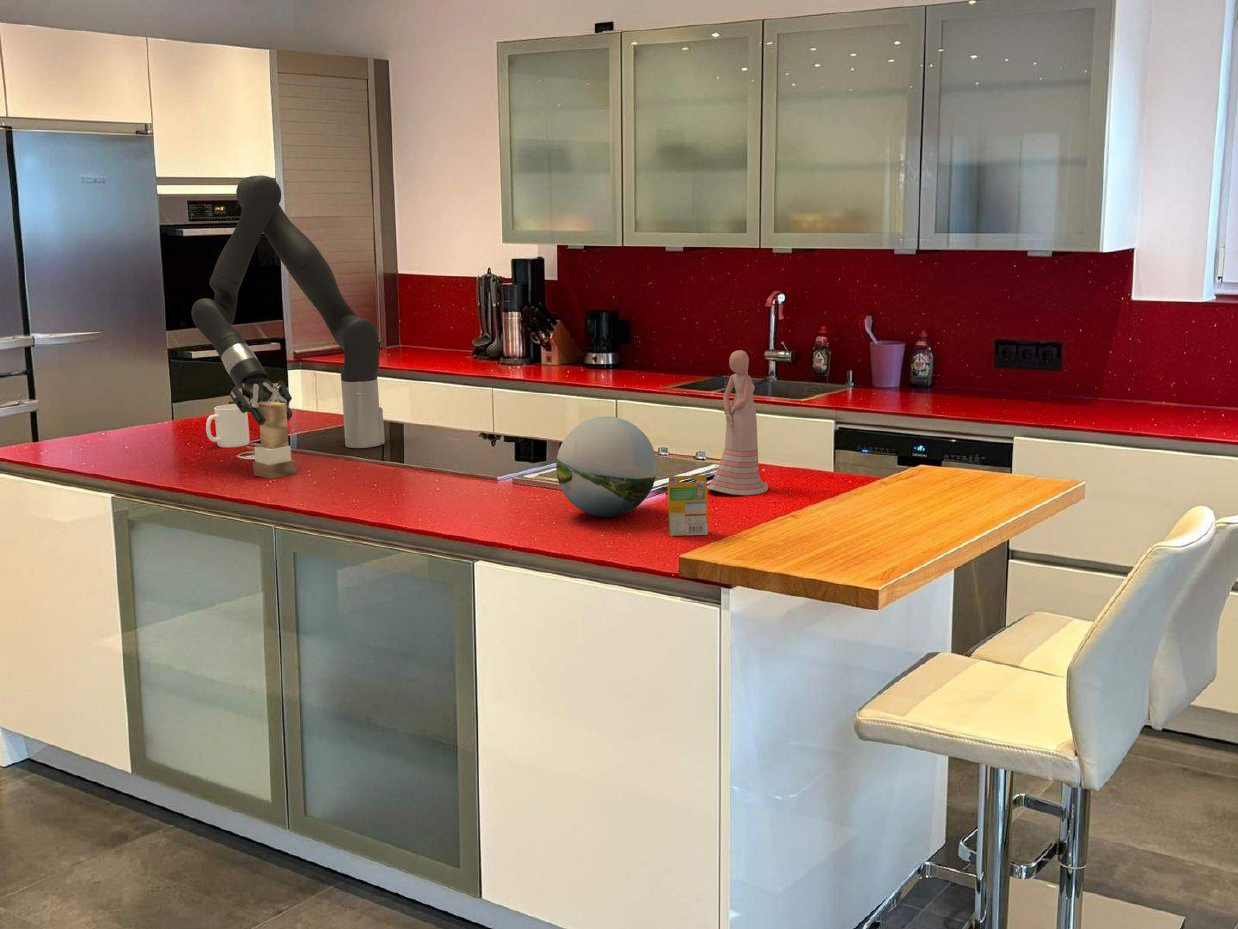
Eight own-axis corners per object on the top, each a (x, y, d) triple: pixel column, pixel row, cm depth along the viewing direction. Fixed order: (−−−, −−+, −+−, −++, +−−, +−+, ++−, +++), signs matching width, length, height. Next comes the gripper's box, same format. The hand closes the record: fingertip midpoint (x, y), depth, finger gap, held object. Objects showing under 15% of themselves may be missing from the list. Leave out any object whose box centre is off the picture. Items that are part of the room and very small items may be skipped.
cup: (256, 443, 358) (253, 405, 356) (217, 451, 349) (214, 412, 347) (237, 440, 363) (234, 403, 361) (198, 448, 354) (195, 409, 352)
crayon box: (706, 531, 257) (705, 471, 255) (708, 535, 254) (707, 475, 252) (668, 532, 257) (667, 473, 255) (669, 536, 254) (668, 476, 252)
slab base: (279, 471, 324) (278, 456, 323) (296, 475, 319) (295, 460, 318) (254, 476, 319) (253, 461, 318) (271, 480, 314) (270, 465, 313)
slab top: (277, 457, 322) (276, 443, 321) (291, 460, 318) (290, 446, 317) (255, 461, 318) (254, 447, 317) (269, 465, 314) (268, 450, 313)
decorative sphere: (650, 501, 282) (648, 406, 278) (664, 525, 263) (662, 423, 259) (554, 506, 280) (550, 411, 276) (562, 530, 260) (558, 428, 256)
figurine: (767, 483, 296) (766, 346, 290) (770, 496, 284) (769, 354, 278) (707, 484, 297) (705, 347, 291) (707, 497, 285) (705, 355, 279)
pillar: (277, 443, 321) (275, 401, 319) (288, 445, 318) (286, 403, 316) (260, 446, 318) (258, 403, 316) (272, 448, 315) (269, 405, 313)
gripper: (222, 360, 313) (255, 415, 308) (275, 353, 324) (308, 406, 319) (211, 381, 318) (244, 435, 313) (264, 373, 328) (296, 426, 323)
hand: (276, 420), depth 316 cm, fingers open, 6 cm apart
